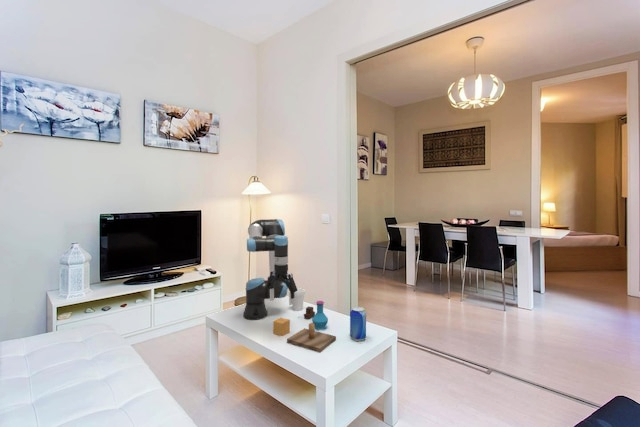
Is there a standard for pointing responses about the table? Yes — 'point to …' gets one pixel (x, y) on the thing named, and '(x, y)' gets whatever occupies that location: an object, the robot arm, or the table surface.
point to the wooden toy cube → (281, 326)
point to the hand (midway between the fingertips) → (281, 302)
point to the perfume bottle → (320, 317)
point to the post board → (311, 339)
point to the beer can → (358, 324)
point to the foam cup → (298, 299)
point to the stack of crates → (309, 313)
